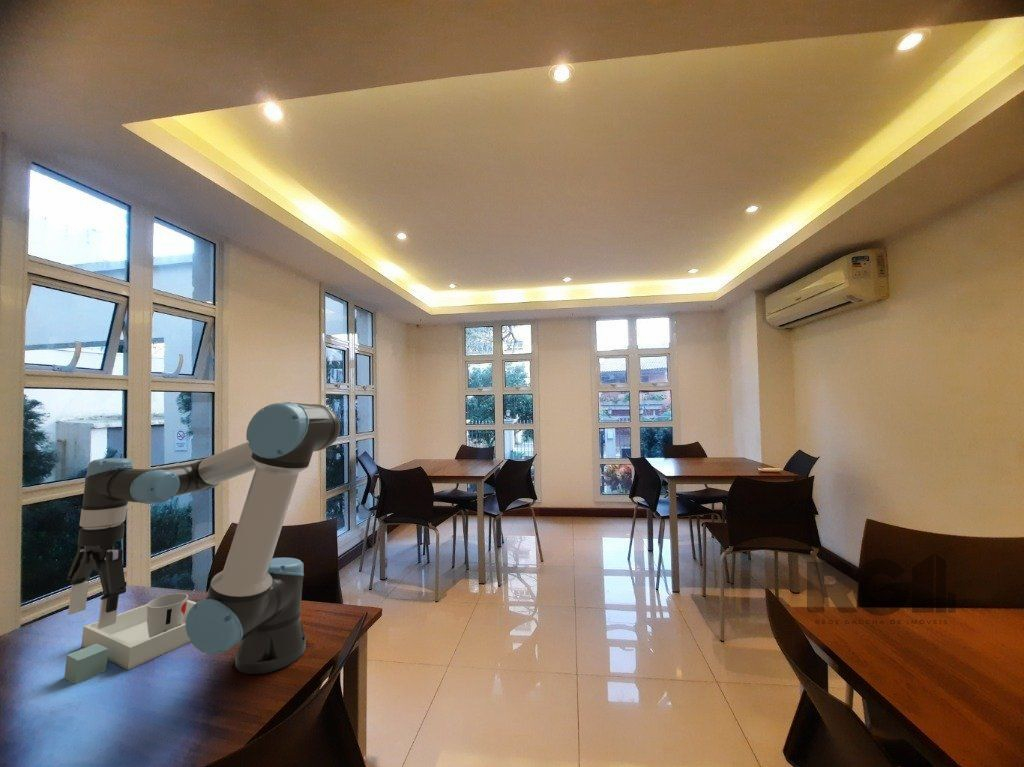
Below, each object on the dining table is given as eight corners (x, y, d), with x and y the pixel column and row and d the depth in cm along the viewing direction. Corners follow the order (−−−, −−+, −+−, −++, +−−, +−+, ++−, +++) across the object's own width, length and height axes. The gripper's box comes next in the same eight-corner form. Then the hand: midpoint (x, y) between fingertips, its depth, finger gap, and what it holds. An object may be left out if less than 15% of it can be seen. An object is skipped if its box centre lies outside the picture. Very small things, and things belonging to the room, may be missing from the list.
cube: (105, 671, 91) (108, 648, 91) (75, 684, 86) (78, 660, 87) (94, 665, 93) (96, 643, 93) (64, 678, 88) (66, 654, 88)
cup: (159, 651, 98) (164, 609, 99) (134, 646, 99) (138, 605, 100) (192, 633, 106) (195, 595, 106) (168, 629, 107) (171, 591, 108)
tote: (217, 629, 109) (219, 610, 110) (128, 670, 91) (130, 647, 92) (171, 612, 117) (173, 594, 118) (81, 646, 99) (83, 626, 100)
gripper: (152, 528, 91) (141, 623, 89) (97, 514, 101) (86, 600, 99) (109, 537, 84) (97, 640, 82) (54, 521, 94) (42, 613, 92)
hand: (91, 618), depth 91 cm, fingers open, 13 cm apart
